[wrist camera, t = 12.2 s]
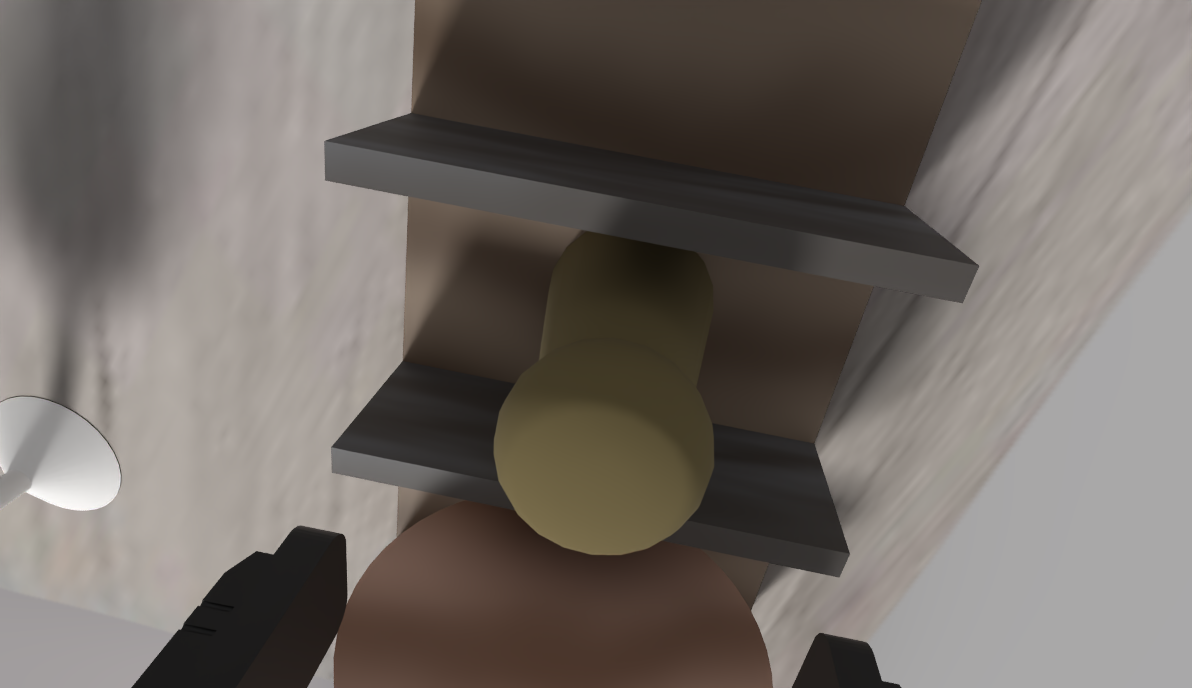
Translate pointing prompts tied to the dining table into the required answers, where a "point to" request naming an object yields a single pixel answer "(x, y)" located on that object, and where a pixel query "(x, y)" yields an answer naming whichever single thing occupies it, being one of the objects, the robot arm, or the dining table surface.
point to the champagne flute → (54, 456)
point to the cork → (612, 400)
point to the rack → (649, 214)
